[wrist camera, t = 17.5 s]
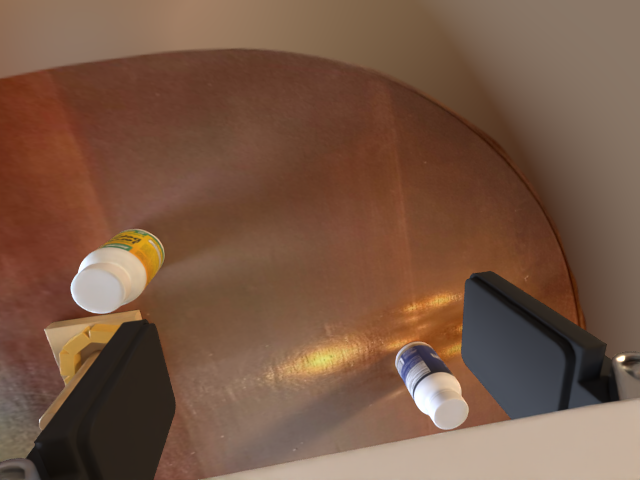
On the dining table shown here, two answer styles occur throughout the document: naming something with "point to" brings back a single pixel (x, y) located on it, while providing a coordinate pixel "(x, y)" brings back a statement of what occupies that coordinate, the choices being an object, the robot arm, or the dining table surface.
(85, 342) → the ring
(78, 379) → the post
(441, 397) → the pill bottle
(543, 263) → the dining table surface
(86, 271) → the supplement bottle
